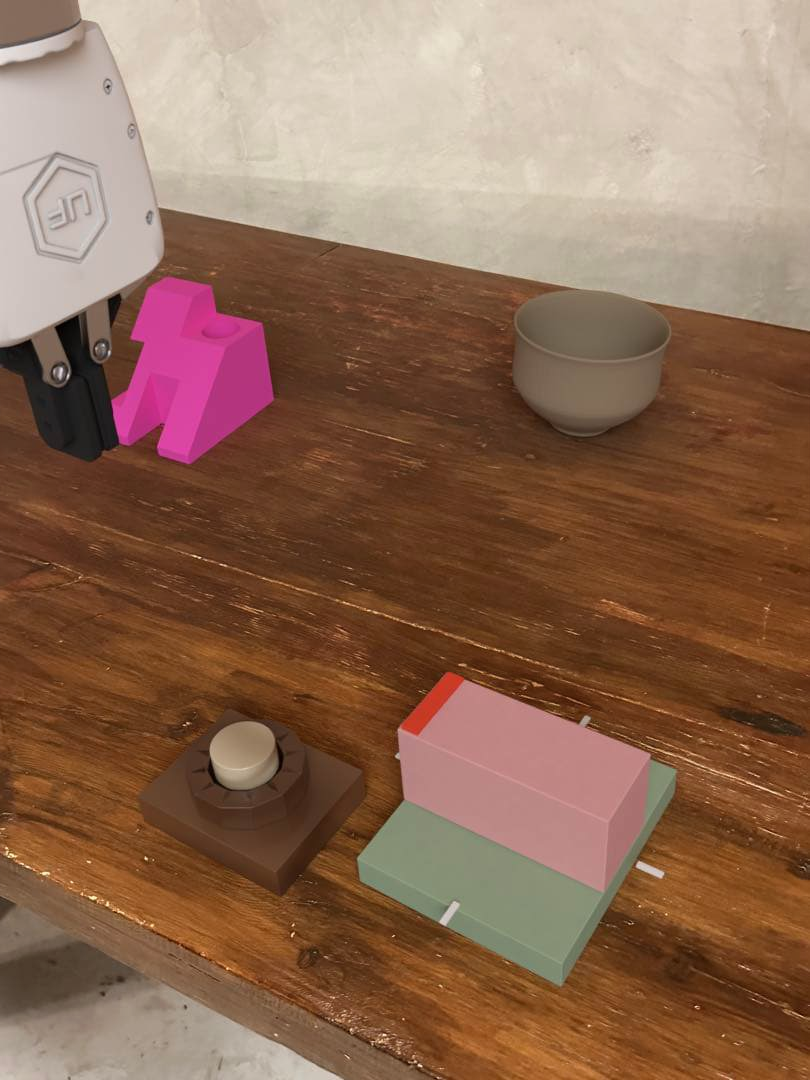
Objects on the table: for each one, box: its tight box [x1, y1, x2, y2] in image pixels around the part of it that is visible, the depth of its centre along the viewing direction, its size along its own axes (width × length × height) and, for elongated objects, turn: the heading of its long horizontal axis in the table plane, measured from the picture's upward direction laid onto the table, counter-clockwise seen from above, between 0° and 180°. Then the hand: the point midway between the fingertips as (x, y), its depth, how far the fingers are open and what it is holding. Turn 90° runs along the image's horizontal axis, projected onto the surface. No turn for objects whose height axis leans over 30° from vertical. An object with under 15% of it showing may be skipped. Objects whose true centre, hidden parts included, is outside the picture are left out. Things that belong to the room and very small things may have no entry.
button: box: [210, 721, 279, 791], centre depth 62 cm, size 4×4×2 cm
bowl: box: [511, 289, 673, 438], centre depth 93 cm, size 13×13×10 cm
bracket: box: [111, 276, 275, 465], centre depth 98 cm, size 12×10×10 cm
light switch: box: [136, 708, 367, 898], centre depth 63 cm, size 8×10×4 cm
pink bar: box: [397, 671, 652, 893], centre depth 59 cm, size 12×5×6 cm, turn 57°
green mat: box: [356, 714, 678, 988], centre depth 61 cm, size 16×16×2 cm
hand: (82, 445), depth 50 cm, fingers closed
